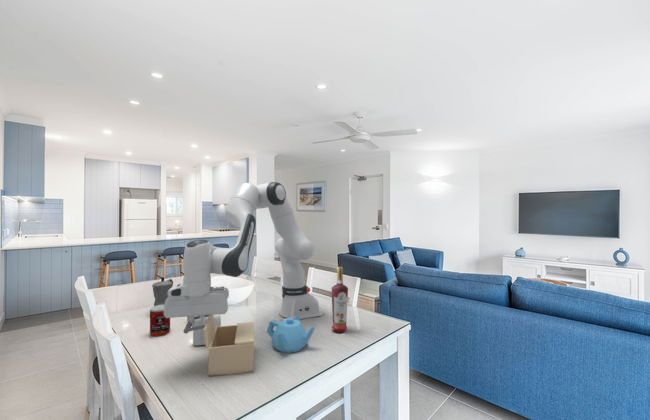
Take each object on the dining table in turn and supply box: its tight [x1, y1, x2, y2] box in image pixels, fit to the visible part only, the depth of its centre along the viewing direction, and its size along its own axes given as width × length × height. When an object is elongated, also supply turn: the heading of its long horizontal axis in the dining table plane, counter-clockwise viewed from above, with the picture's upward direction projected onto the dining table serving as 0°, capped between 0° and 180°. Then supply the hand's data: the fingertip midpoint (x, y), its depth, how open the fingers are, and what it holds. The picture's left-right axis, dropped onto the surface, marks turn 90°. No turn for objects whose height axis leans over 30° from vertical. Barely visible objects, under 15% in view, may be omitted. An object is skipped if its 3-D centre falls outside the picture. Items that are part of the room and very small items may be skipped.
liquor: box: [331, 266, 349, 334], centre depth 133 cm, size 7×7×28 cm
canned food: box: [149, 305, 171, 337], centre depth 129 cm, size 8×8×11 cm
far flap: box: [183, 315, 215, 349], centre depth 103 cm, size 7×17×7 cm
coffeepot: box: [151, 277, 174, 307], centre depth 154 cm, size 15×9×18 cm, turn 176°
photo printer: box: [192, 314, 222, 347], centre depth 119 cm, size 10×4×12 cm, turn 103°
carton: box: [208, 321, 255, 377], centre depth 106 cm, size 14×18×10 cm
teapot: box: [266, 316, 316, 354], centre depth 118 cm, size 15×15×11 cm
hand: (196, 328), depth 103 cm, fingers closed
